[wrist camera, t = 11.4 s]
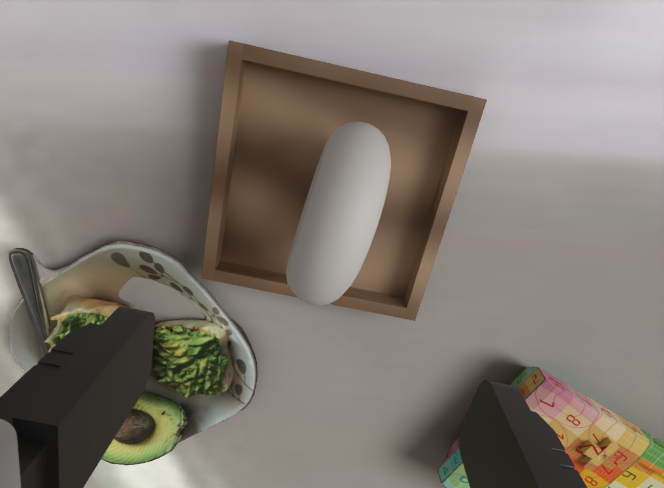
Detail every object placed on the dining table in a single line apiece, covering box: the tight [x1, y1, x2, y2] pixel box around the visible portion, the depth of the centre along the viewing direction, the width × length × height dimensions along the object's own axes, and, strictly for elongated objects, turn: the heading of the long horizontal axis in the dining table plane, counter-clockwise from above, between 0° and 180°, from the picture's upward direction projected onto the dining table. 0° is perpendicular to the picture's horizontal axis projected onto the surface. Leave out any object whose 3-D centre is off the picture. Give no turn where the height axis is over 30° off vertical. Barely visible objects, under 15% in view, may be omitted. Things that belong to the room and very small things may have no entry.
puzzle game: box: [438, 367, 664, 488], centre depth 35 cm, size 12×5×20 cm
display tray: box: [201, 41, 487, 321], centre depth 28 cm, size 15×15×2 cm
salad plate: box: [9, 241, 257, 465], centre depth 32 cm, size 19×18×5 cm
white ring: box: [286, 122, 391, 305], centre depth 24 cm, size 10×3×10 cm, turn 161°
